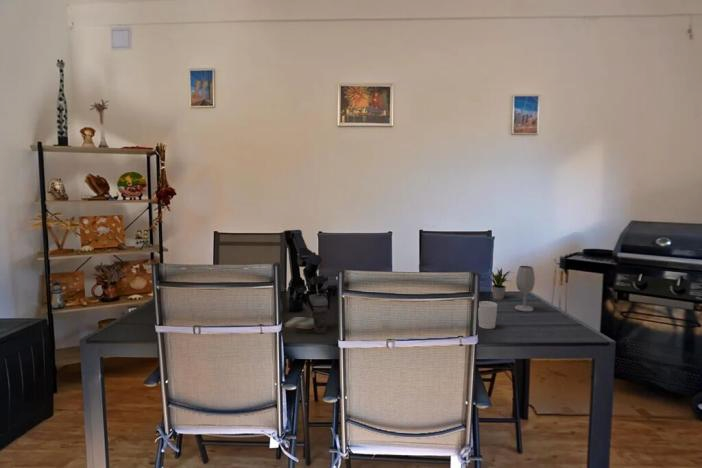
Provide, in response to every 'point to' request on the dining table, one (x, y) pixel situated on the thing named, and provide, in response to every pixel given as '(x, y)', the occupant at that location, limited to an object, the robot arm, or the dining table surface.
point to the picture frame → (300, 323)
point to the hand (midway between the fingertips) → (320, 309)
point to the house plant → (499, 284)
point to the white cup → (487, 314)
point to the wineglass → (525, 285)
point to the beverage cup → (319, 312)
